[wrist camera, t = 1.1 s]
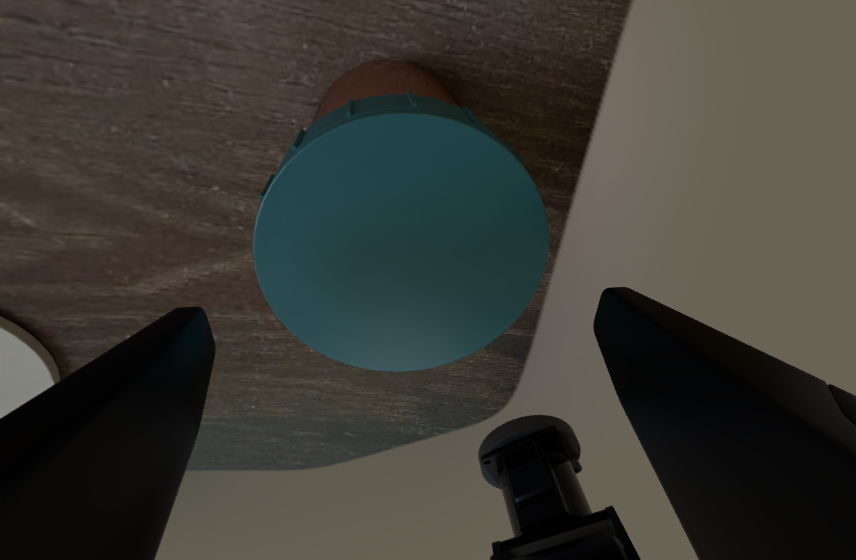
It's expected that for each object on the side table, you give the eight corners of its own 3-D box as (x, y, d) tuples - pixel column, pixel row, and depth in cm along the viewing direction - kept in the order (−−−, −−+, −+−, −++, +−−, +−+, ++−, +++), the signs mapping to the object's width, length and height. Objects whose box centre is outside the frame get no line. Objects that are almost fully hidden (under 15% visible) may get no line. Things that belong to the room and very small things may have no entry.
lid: (560, 261, 13) (587, 300, 11) (363, 360, 14) (362, 407, 12) (456, 29, 9) (474, 37, 8) (208, 186, 10) (179, 222, 9)
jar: (484, 164, 19) (564, 286, 11) (367, 230, 21) (366, 383, 13) (416, 26, 16) (461, 60, 8) (283, 112, 17) (209, 215, 9)
